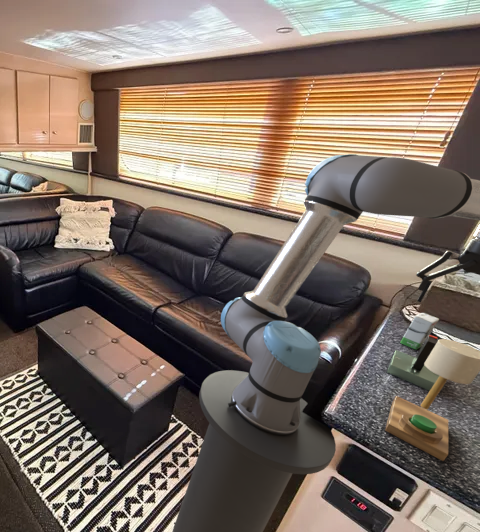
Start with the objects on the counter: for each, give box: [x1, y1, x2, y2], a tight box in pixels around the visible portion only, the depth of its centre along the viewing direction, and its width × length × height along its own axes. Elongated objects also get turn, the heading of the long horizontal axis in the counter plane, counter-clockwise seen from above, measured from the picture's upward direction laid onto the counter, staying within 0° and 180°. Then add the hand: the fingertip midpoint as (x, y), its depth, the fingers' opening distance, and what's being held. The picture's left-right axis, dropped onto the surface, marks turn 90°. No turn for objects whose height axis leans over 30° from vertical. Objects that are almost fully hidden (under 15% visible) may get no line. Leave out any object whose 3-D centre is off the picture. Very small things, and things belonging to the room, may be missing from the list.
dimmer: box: [386, 349, 439, 392], centre depth 101 cm, size 14×11×3 cm
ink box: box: [399, 312, 440, 351], centre depth 117 cm, size 9×5×12 cm, turn 120°
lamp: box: [420, 338, 480, 410], centre depth 78 cm, size 8×8×18 cm
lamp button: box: [410, 414, 437, 434], centre depth 75 cm, size 4×4×2 cm
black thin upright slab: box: [412, 334, 439, 371], centre depth 98 cm, size 6×2×10 cm, turn 131°
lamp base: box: [384, 395, 449, 462], centre depth 78 cm, size 16×10×4 cm, turn 131°
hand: (450, 310), depth 93 cm, fingers open, 13 cm apart
